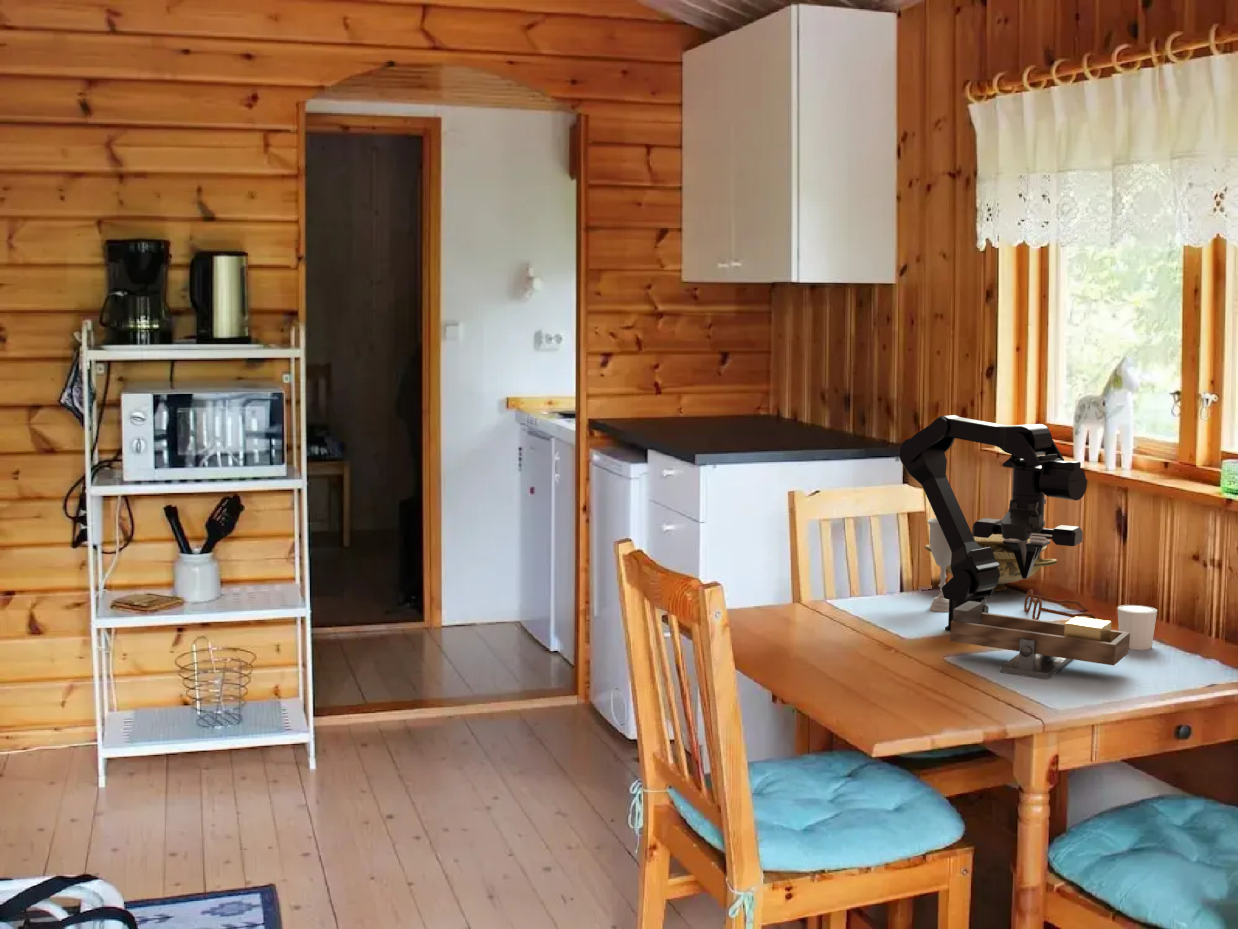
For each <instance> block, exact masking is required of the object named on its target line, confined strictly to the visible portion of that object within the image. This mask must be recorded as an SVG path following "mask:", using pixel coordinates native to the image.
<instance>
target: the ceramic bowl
mask: <svg viewBox="0 0 1238 929" xmlns="http://www.w3.org/2000/svg"><path fill="white" fill-rule="evenodd" d="M973 537H974V536H973ZM974 539H975V541H976V543H977V544H978V545H979V546H981V547H982V548H987V547H990V548H991V549H992V551H993V553H994V557H995V559H996V561H997V562H998V563H999V565H1000V567H998V569H999V572H1000V578H999V581H998V584H997V585H996V587H994V590H993V592H999V591H1000V592H1001V591H1006V590H1007V589H1008V587H1007V586H1006V585H1005V584H1009V583H1014V582H1015V583H1016V582H1018V581H1021V580H1024V579H1023V578H1022V576H1021V573H1020V570H1019V567H1018V564H1017V561H1016V558H1015V555H1014V553H1013V551H1012V549H1011V548H1010V547H1009V546H1008V545H1007V544H1003V541H1004V538H1003V537H1002V534H992V535H991V536H990V537H989V538H983V537H974ZM1028 542H1030V538H1029V539H1028V540H1027V543H1028ZM1047 546H1048V545H1046V546H1044V547H1043V548H1042V550H1041V551H1040V553H1039V555H1038V557H1037V559H1036V561H1035V563H1034V566H1033V568H1032V570H1031V572H1030V575H1029V577H1031V576H1033V575H1034V574H1035V573H1037V571H1039V569H1040V568H1041V567H1051V566H1053V565H1056V564H1057V562H1058V559H1056V558H1042V557H1041V553H1042V552H1045V550H1046V549H1048V548H1047ZM924 549H925V550H927V552H930V553H932V552H931V548H930V545H929V544H925V545H924ZM945 572H946V573H948V574H950V575H952V571H951V565H950V566H947V567H946V570H945Z"/></svg>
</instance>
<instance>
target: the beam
mask: <svg viewBox="0 0 1238 929" xmlns="http://www.w3.org/2000/svg"><path fill="white" fill-rule="evenodd" d="M1035 619H1036V618H1035ZM1035 619H1032V618H1026V617H1018V616H1011V615H1005V614H998V613H991V612H988V613H984V612H982V603H981V602H974V601H968V602H966V603H964V604H962V605H960V606H959V607H957V608H955V609H953V621H951V631H950V635H949V636H950V637H949V638H950V640H949V641H950V642H953V643H960V644H961V643H962V644H966V645H974V646H978V647H979V646H980V647H987V648H994V649H1001V650H1007V651H1014V652H1019V648H1020V639H1022V638H1026V639H1033V640H1036V654H1040V655H1046V656H1053V657H1060V658H1066V659H1072V660H1075V661H1081V662H1087V663H1094V664H1101V665H1107V666H1113V667H1114V666H1115V665H1117V664H1118V663H1119V662H1120V661H1121V660H1123V658H1124V657H1126V656H1127V655H1128V654H1129V653H1130V649H1129V642H1130V632H1123V631H1119V630H1115V629H1111V636H1110V643H1109V642H1102V641H1095V640H1087V639H1080V638H1073V637H1066V636H1064V629H1065V623H1062V622H1056V621H1049V620H1048V621H1047V620H1040V619H1039V620H1035Z"/></svg>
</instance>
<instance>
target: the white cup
mask: <svg viewBox="0 0 1238 929" xmlns="http://www.w3.org/2000/svg"><path fill="white" fill-rule="evenodd" d="M1157 615H1158V609H1157V608H1154V607H1151V606H1147V605H1140V604H1122V605H1118V606H1117V620H1118V621H1117V622H1118V623H1117V624H1118V631H1123V632H1130V642H1129V650H1137V651H1142V650H1143V651H1147V650H1151V649H1152V647H1153V642H1154V634H1155V626H1156V621H1157Z"/></svg>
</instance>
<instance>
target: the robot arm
mask: <svg viewBox="0 0 1238 929" xmlns="http://www.w3.org/2000/svg"><path fill="white" fill-rule="evenodd" d="M955 440H962V441H968V442H974V443H978V444H983V445H984V444H985V445H990V446H994V447H996V448H999V449H1000V450H1002V452H1004V453H1006V454H1009V455H1010V457H1009V458H1008V459H1007V460H1005V461H1004V462H1002V467H1004V468H1008V469H1009V468H1010V469H1012V484H1011V485H1012V487H1011V490H1012V491H1011V499H1010V500H1009V507H1008V509H1007V510H1008V511H1007V512H1006V513H1005V514H1004V516H1003V517H1002V519H1000V518H999V519H998V518H987V517H983V518H981V519H978V520H976V521H975V522H974V523H973V525H972V526H971V527H972V530H971V528H970V526H969V524H968V521H967V519H966V517H965V515H964V512H963V510H962V508H961V506H960V504H959V502H958V500H957V497H956V496H955V492H954V490H953V489H952V487H951V484H950V482H949V480H948V477H947V465H948V464H947V463H948V459H947V456H946V452H947V451H949V449H951V447H952V446H953V444H954V442H955ZM898 458H899V460H900V462H901V464H902V465H903V467H904V469H905V471H906V472H907V473H908V475H909V476H911V478H913V479H914V480H915V481H917V482H918V483H919V484H920V485H921V487H922V488H923V492H924V493H925V495H926V498H927V500H928V502H929V505H930V507H931V509H932V512H933V514H934V515H935V518H937V521H938V523H939V525H940V527H941V530H942V532H943V534H944V536H945V539H946V541H947V543H948V545H949V548H950V550H951V553H952V555H951V571H952V574H951V576H952V577H951V578H950V579H949V580H948V581H947V582H945V583H946V584H945V585H944V586H943V587H942V592H943V596H944V598H945V599H949V612H948V617H947V618H948V621H947V622H948V623H947V625H946V626H944V630H945V631H950V632H951V621H953V609H955V608H957V607H959V606H960V605H962V604H964V603H966V602H968V601H974V602H981V603H982V612H984V613H989V608H990V607H989V606H988V605H987V598H988V597H989V598H990V597H992V595H993V593H994V591H993V590H994V587H996V585H997V584H998V581H999V578H1000V572H999V569H998V567H1000V565H999V563H998V562H997V561H996V559H995V557H994V553H993V551H992V549H991V548H990V547H987V548H982V547H981V546H979V545H978V544H977V543H976V541H975V539H974V537H983V538H989V537H990V536H991V535H992V534H994V535H1002V537H1003V538H1004V541H1003V544H1007V545H1008V546H1009V547H1010V548H1011V549H1012V551H1013V553H1014V555H1015V558H1016V561H1017V564H1018V567H1019V570H1020V573H1021V576H1022V578H1023V579H1022V580H1028V579H1029V577H1030V576H1029V575H1030V572H1031V570H1032V568H1033V566H1034V563H1035V561H1036V559H1037V557H1038V555H1039V554H1041V553H1040V551H1041V550H1042V548H1043V547H1044V546H1046V545H1047V546H1048V545H1050V544H1051V541H1052V542H1053V543H1054V544H1055V545H1056V546H1064V547H1065V546H1066V547H1076V546H1077V545H1079V544H1081V543H1083V539H1084V538H1083V537H1084V534H1083V529H1082V528H1081V527H1080V526H1078V525H1077V526H1075V525H1065V524H1060V525H1058V526H1056V527H1054V528H1045V527H1046V520H1045V519H1044V518H1045V505H1046V504H1047V498H1046V497H1048V498H1049V497H1050V498H1056V499H1062V500H1071V501H1079V500H1081V499H1082V498H1083V497H1084V495H1085V493H1086V492H1087V491H1086V490H1087V488H1088V479H1087V478H1086V477H1087V476H1086V474H1085V471H1084V470H1083V469H1082V468H1081V466H1082V463H1081V461H1076V460H1075V461H1074V460H1073V461H1067V460H1065V459H1064V456H1063V455H1062V453H1061V451H1060V450H1059V447H1057V445H1056V443H1055V440H1053V436H1052V433H1051V431H1050V429H1049V427H1048V426H1046V425H1044V424H1042V423H1035V424H1034V423H1032V424H1031V423H1029V424H1009V425H1007V424H1001V423H995V422H989V421H984V420H978V419H973V418H972V419H971V418H967V417H966V418H965V417H960V416H959V415H956V414H953V415H949V414H948V415H940V416H938V417H937V418H936V419H934V420H933V421H932V422H931V423H930V424H929V425H927V426H926V427H924V428H923V429H921V430H920V431H918V432H917V433H915V434H914V435H913V436H912V437H910V438H908V439H905V440H904V441H903V442H902V443H901V445H900V448H899V450H898ZM1045 496H1046V497H1045ZM973 536H974V537H973ZM1028 539H1030V542H1028V543H1027V540H1028Z"/></svg>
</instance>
